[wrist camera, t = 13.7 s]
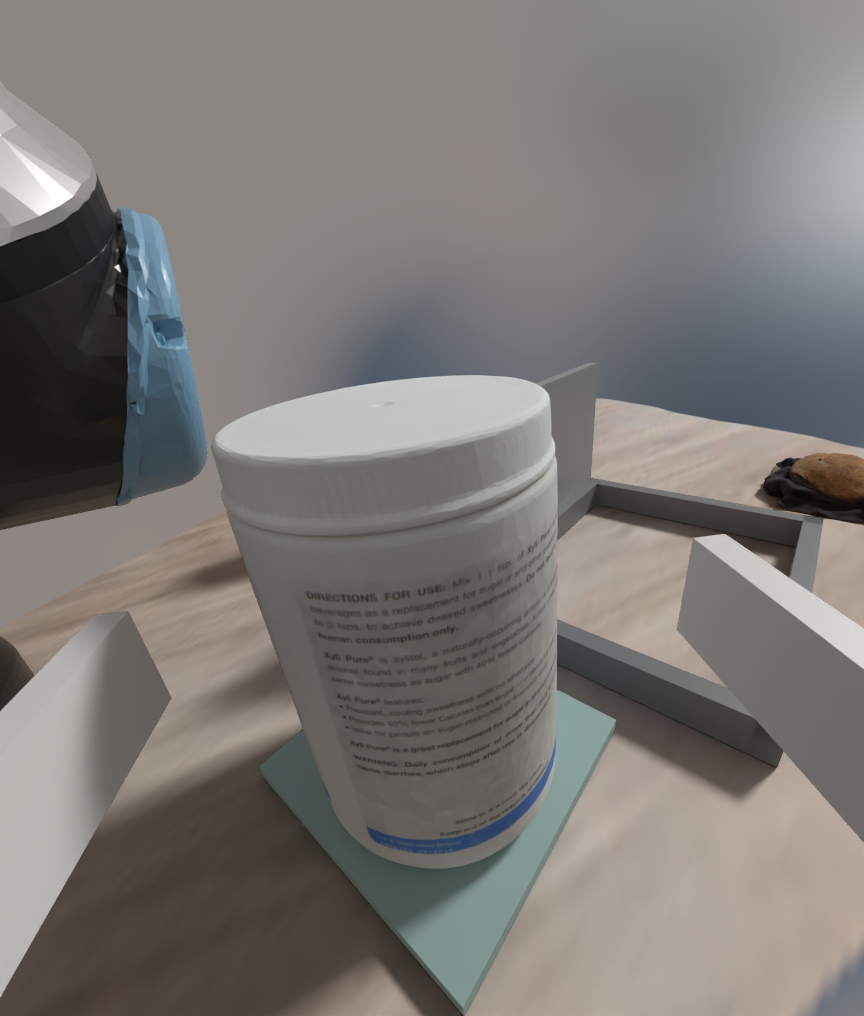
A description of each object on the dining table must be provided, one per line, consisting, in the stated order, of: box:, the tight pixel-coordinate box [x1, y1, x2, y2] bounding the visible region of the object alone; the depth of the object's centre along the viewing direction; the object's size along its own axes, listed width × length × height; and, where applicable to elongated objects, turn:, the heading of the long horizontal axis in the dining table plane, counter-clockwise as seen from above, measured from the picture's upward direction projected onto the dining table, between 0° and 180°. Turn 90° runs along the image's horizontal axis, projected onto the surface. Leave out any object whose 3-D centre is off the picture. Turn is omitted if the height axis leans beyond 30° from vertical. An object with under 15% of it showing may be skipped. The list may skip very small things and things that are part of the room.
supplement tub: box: [211, 375, 558, 869], centre depth 15 cm, size 10×10×15 cm
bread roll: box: [763, 453, 864, 523], centre depth 36 cm, size 11×8×4 cm
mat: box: [259, 690, 616, 1016], centre depth 19 cm, size 11×11×1 cm
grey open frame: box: [536, 363, 823, 768], centre depth 26 cm, size 17×20×12 cm
